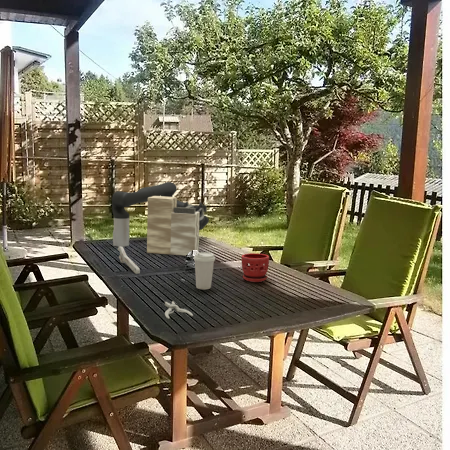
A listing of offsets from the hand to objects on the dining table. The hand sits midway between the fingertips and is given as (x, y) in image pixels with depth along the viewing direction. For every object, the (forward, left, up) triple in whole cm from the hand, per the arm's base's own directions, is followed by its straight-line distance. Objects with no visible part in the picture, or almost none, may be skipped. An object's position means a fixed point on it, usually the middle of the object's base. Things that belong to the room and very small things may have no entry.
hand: (193, 203), depth 289 cm
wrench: (-30, -56, -28) cm, 69 cm away
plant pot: (+33, -72, -28) cm, 84 cm away
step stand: (-10, -18, -27) cm, 35 cm away
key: (-3, -15, -3) cm, 16 cm away
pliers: (-2, -119, -28) cm, 122 cm away
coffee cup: (+9, -87, -27) cm, 92 cm away
